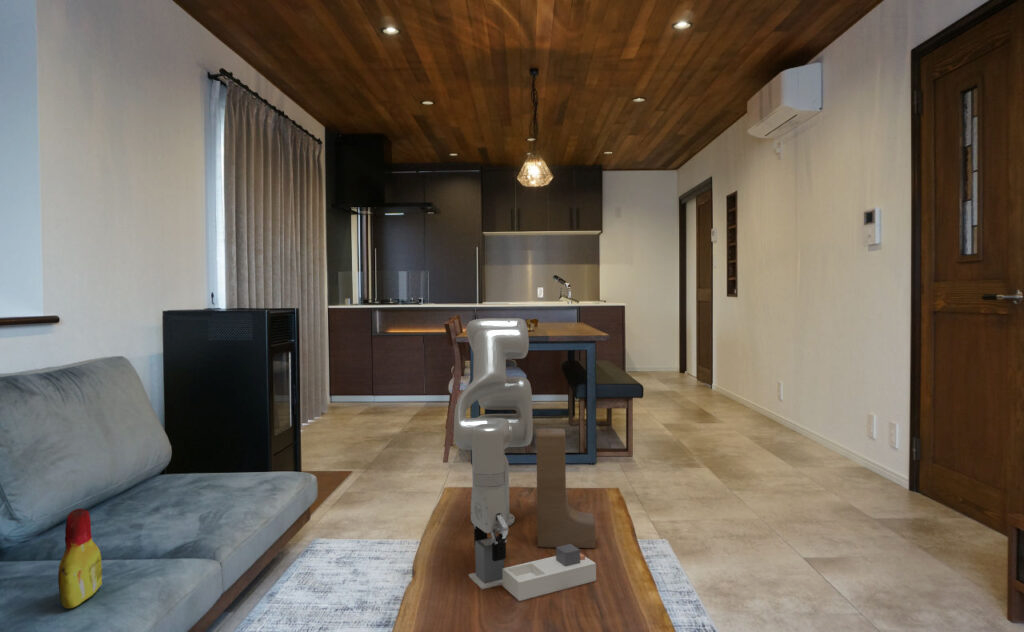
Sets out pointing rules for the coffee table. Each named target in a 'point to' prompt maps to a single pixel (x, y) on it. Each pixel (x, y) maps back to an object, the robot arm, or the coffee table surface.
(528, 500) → the coffee table surface
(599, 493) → the coffee table surface
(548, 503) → the decorative block
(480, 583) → the felt pad
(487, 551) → the block
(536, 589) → the power strip
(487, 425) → the robot arm
